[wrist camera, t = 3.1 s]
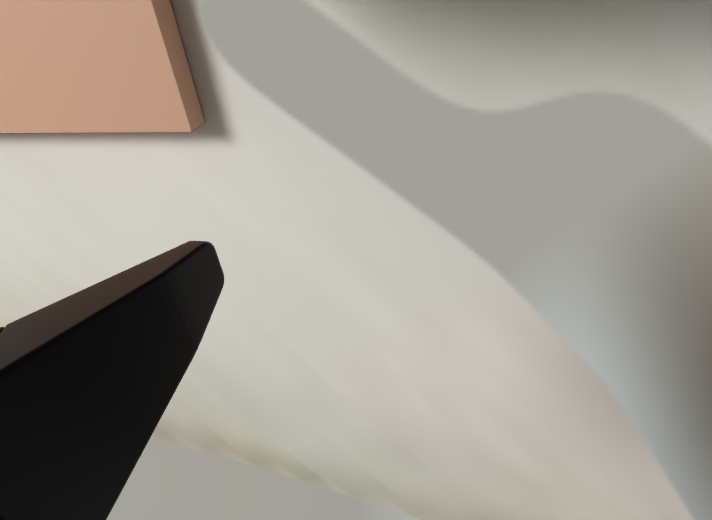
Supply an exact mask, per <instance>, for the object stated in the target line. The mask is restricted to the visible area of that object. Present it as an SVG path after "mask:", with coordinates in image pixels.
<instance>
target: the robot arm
mask: <svg viewBox="0 0 712 520" xmlns="http://www.w3.org/2000/svg"><path fill="white" fill-rule="evenodd" d="M223 285H224V274H223V271H222V268H221V265H220V262H219V259H218V256H217V253H216V250H215V248H214V246H213V245H212V244H211V243H210V242H206V241H189V242H187V243H184V244H182V245H180V246H178V247H176V248H174V249H171V250H169V251H167V252H165V253H163V254H160V255H158V256H156V257H154V258H152V259H149V260H147V261H145V262H143V263H141V264H138V265H136V266H134V267H132V268H130V269H128V270H125V271H123V272H121V273H119V274H117V275H114V276H112V277H110V278H108V279H106V280H103V281H101V282H99V283H97V284H95V285H93V286H90V287H88V288H86V289H84V290H82V291H79V292H77V293H75V294H73V295H71V296H68V297H66V298H64V299H62V300H60V301H57V302H55V303H53V304H51V305H49V306H47V307H44V308H42V309H40V310H38V311H36V312H33V313H31V314H29V315H27V316H25V317H22V318H20V319H18V320H16V321H14V322H12V323H9V324H7V325H6V327H0V520H106V519H107V517H108V515H109V514H110V512H111V510H112V508H113V506H114V504H115V502H116V500H117V499H118V497H119V495H120V493H121V491H122V489H123V487H124V486H125V484H126V482H127V480H128V478H129V476H130V474H131V473H132V471H133V469H134V467H135V465H136V463H137V461H138V459H139V458H140V456H141V454H142V452H143V450H144V448H145V446H146V445H147V443H148V441H149V439H150V437H151V435H152V433H153V432H154V430H155V428H156V426H157V424H158V422H159V420H160V419H161V417H162V415H163V413H164V411H165V409H166V407H167V405H168V404H169V402H170V400H171V398H172V396H173V394H174V392H175V391H176V389H177V387H178V385H179V383H180V381H181V379H182V378H183V376H184V374H185V372H186V370H187V368H188V366H189V364H190V363H191V361H192V359H193V357H194V355H195V353H196V351H197V349H198V346H199V344H200V342H201V340H202V337H203V335H204V332H205V330H206V327H207V325H208V323H209V320H210V318H211V315H212V313H213V310H214V308H215V305H216V303H217V300H218V298H219V296H220V293H221V291H222V288H223Z"/></svg>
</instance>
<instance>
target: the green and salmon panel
mask: <svg viewBox="0 0 712 520" xmlns="http://www.w3.org/2000/svg"><path fill="white" fill-rule="evenodd" d="M204 123H205V120H204V117H203V113H202V110H201V106H200V103H199V100H198V96H197V93H196V89H195V86H194V82H193V79H192V75H191V72H190V68H189V65H188V61H187V58H186V54H185V51H184V47H183V44H182V40H181V37H180V33H179V30H178V26H177V23H176V19H175V16H174V13H173V9H172V6H171V2H170V0H0V133H74V132H192V131H194V130H195V129H196V128H198V127H199V126H201V125H202V124H204Z"/></svg>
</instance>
